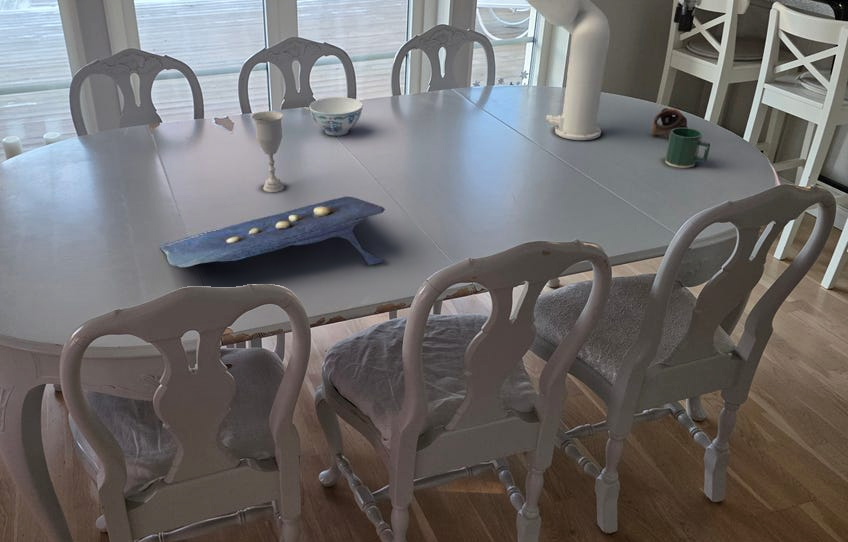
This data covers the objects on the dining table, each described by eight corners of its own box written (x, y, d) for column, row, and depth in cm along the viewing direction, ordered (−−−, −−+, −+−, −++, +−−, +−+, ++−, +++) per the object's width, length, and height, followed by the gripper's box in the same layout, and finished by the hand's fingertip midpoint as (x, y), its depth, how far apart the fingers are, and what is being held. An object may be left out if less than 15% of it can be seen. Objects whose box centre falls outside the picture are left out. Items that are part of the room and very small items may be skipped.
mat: (188, 319, 146) (171, 261, 143) (167, 288, 171) (152, 237, 167) (403, 256, 160) (393, 201, 156) (355, 235, 184) (345, 187, 181)
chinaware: (372, 128, 227) (372, 102, 223) (344, 144, 216) (343, 117, 212) (330, 119, 234) (329, 94, 229) (300, 134, 223) (298, 108, 219)
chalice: (292, 184, 193) (287, 113, 184) (281, 195, 188) (275, 122, 178) (265, 180, 195) (259, 110, 186) (253, 191, 190) (246, 119, 180)
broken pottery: (695, 141, 215) (691, 119, 210) (661, 156, 218) (656, 134, 212) (679, 116, 224) (674, 95, 218) (646, 131, 226) (641, 109, 220)
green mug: (660, 163, 201) (666, 133, 197) (672, 155, 206) (678, 125, 201) (698, 173, 195) (705, 142, 191) (710, 164, 200) (717, 134, 196)
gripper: (718, -40, 184) (701, 35, 193) (707, -51, 198) (693, 20, 207) (684, -41, 185) (669, 34, 194) (676, -52, 199) (663, 19, 208)
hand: (681, 26), depth 201 cm, fingers open, 9 cm apart
